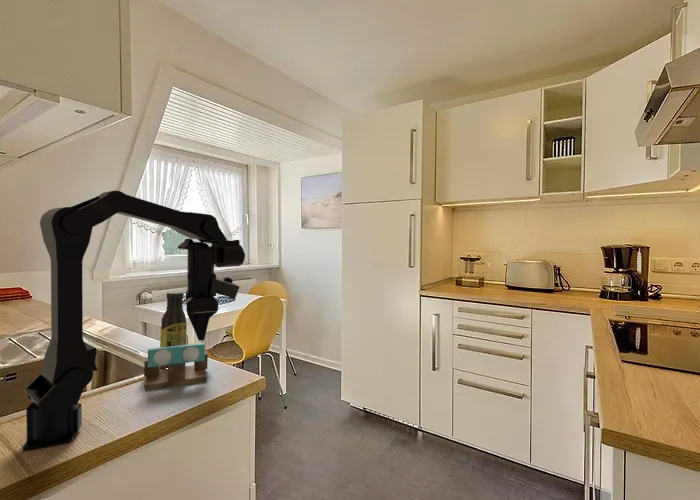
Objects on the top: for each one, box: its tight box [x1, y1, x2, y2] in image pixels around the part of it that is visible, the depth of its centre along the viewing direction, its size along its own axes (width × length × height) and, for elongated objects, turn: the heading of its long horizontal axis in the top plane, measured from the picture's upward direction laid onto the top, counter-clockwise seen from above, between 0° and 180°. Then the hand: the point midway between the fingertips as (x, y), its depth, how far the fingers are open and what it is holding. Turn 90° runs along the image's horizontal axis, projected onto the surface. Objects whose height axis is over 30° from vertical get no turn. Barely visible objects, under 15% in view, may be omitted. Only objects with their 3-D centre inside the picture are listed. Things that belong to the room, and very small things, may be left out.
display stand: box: [143, 350, 209, 391], centre depth 87 cm, size 14×9×5 cm, turn 116°
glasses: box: [147, 342, 206, 367], centre depth 86 cm, size 12×8×4 cm, turn 116°
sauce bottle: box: [159, 291, 188, 369], centre depth 95 cm, size 7×6×20 cm
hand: (200, 334), depth 83 cm, fingers open, 9 cm apart
